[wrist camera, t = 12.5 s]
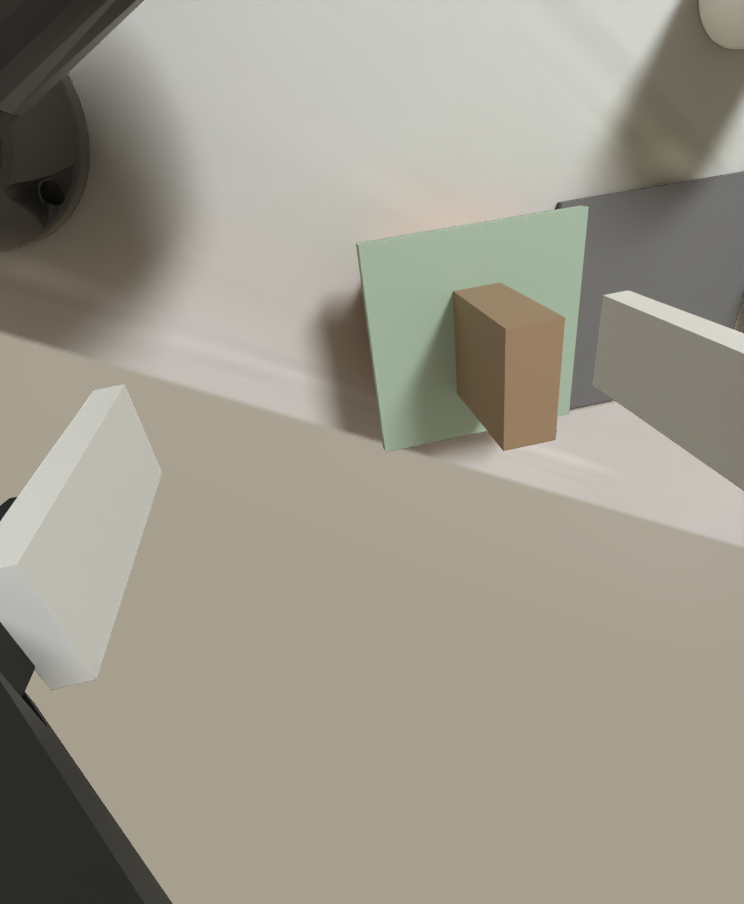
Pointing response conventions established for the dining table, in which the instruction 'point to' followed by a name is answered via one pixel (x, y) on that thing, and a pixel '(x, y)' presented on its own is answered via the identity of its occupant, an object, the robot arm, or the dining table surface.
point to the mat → (660, 258)
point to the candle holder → (724, 22)
